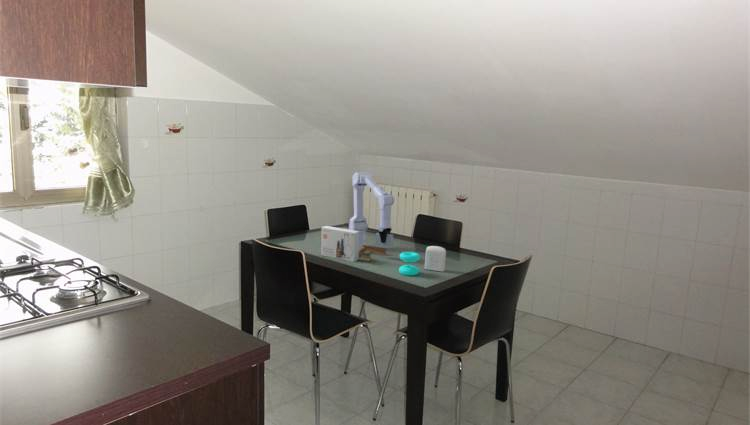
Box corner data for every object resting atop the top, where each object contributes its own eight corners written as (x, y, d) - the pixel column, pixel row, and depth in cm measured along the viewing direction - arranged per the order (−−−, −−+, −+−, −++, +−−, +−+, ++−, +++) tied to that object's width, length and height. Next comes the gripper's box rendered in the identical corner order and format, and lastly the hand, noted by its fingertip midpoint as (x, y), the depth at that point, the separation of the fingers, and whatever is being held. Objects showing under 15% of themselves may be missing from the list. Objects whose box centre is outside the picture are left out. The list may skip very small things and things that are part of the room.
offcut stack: (362, 258, 289) (362, 250, 288) (371, 259, 287) (371, 251, 286) (360, 259, 286) (361, 251, 285) (369, 260, 285) (369, 252, 284)
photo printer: (445, 270, 273) (446, 246, 271) (443, 272, 269) (445, 248, 267) (425, 267, 276) (426, 244, 274) (423, 269, 272) (425, 246, 270)
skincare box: (320, 255, 291) (320, 227, 288) (325, 253, 295) (326, 225, 293) (353, 262, 281) (355, 232, 278) (359, 259, 286) (360, 230, 283)
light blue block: (377, 245, 293) (377, 232, 292) (392, 247, 290) (393, 234, 289) (375, 246, 290) (375, 233, 289) (390, 248, 287) (391, 235, 286)
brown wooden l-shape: (363, 251, 303) (363, 244, 303) (385, 254, 299) (386, 247, 298) (355, 256, 292) (355, 249, 292) (378, 259, 288) (379, 252, 287)
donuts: (421, 252, 267) (419, 257, 257) (419, 271, 269) (418, 277, 259) (401, 250, 269) (398, 255, 259) (400, 269, 270) (397, 275, 261)
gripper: (388, 220, 279) (386, 245, 281) (396, 215, 292) (395, 240, 295) (375, 218, 281) (374, 244, 284) (384, 214, 295) (383, 238, 297)
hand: (384, 242), depth 289 cm, fingers closed on light blue block, 3 cm apart
